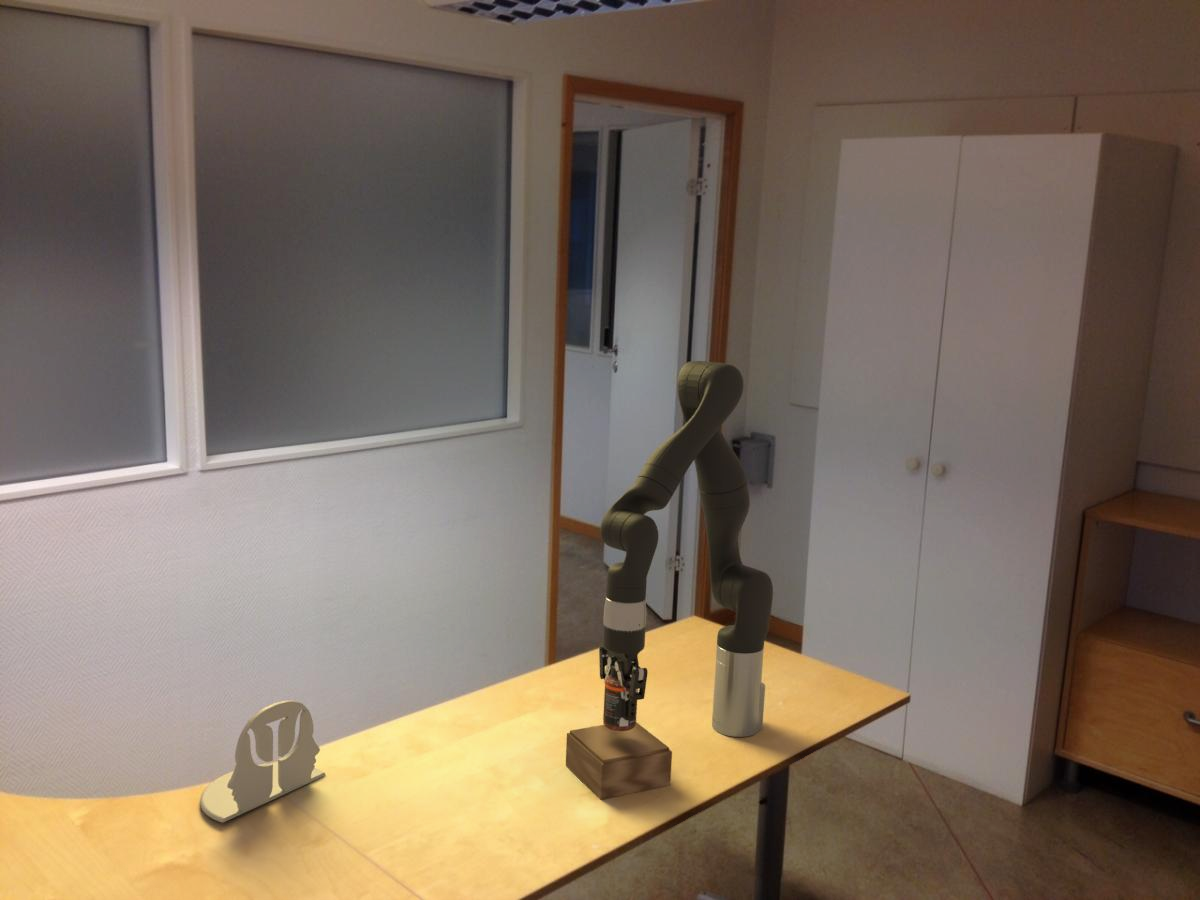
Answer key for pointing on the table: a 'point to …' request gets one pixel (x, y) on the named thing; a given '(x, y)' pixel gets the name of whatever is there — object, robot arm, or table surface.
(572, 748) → the walnut block
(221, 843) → the table surface
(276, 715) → the ornament
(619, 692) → the supplement bottle
